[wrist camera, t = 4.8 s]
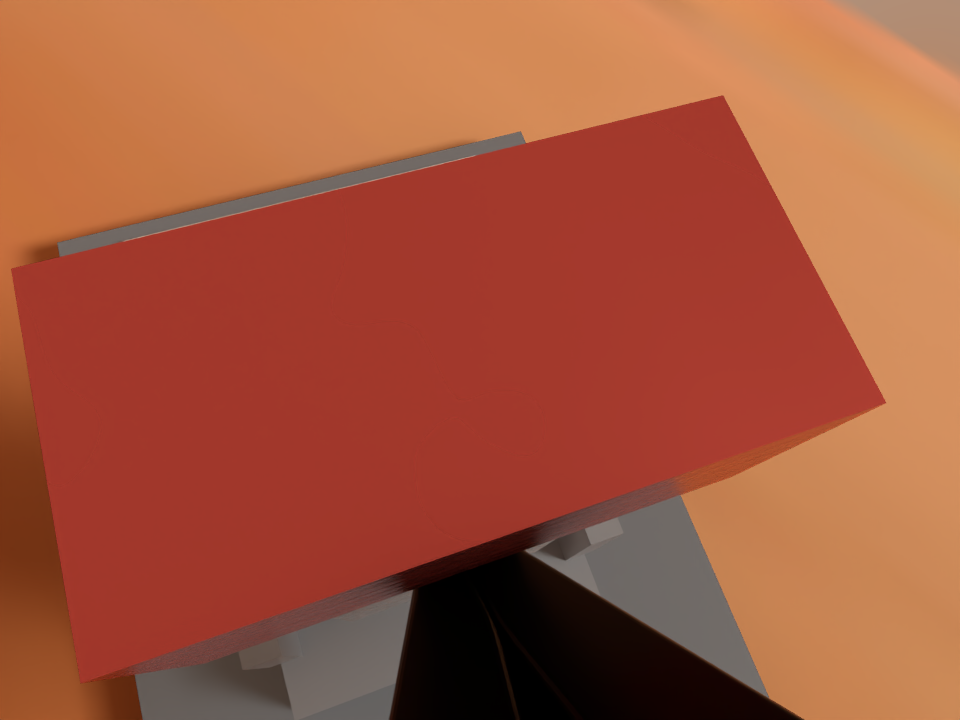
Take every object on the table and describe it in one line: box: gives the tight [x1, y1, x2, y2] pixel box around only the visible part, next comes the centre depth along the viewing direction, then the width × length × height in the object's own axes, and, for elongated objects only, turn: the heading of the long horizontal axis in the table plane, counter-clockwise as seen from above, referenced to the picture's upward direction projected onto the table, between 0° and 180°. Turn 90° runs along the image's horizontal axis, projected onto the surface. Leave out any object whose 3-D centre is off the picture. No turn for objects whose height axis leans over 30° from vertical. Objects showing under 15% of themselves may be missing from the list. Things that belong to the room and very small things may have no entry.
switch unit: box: [57, 132, 769, 720], centre depth 15 cm, size 16×12×5 cm
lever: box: [11, 96, 886, 683], centre depth 9 cm, size 2×4×11 cm, turn 109°
